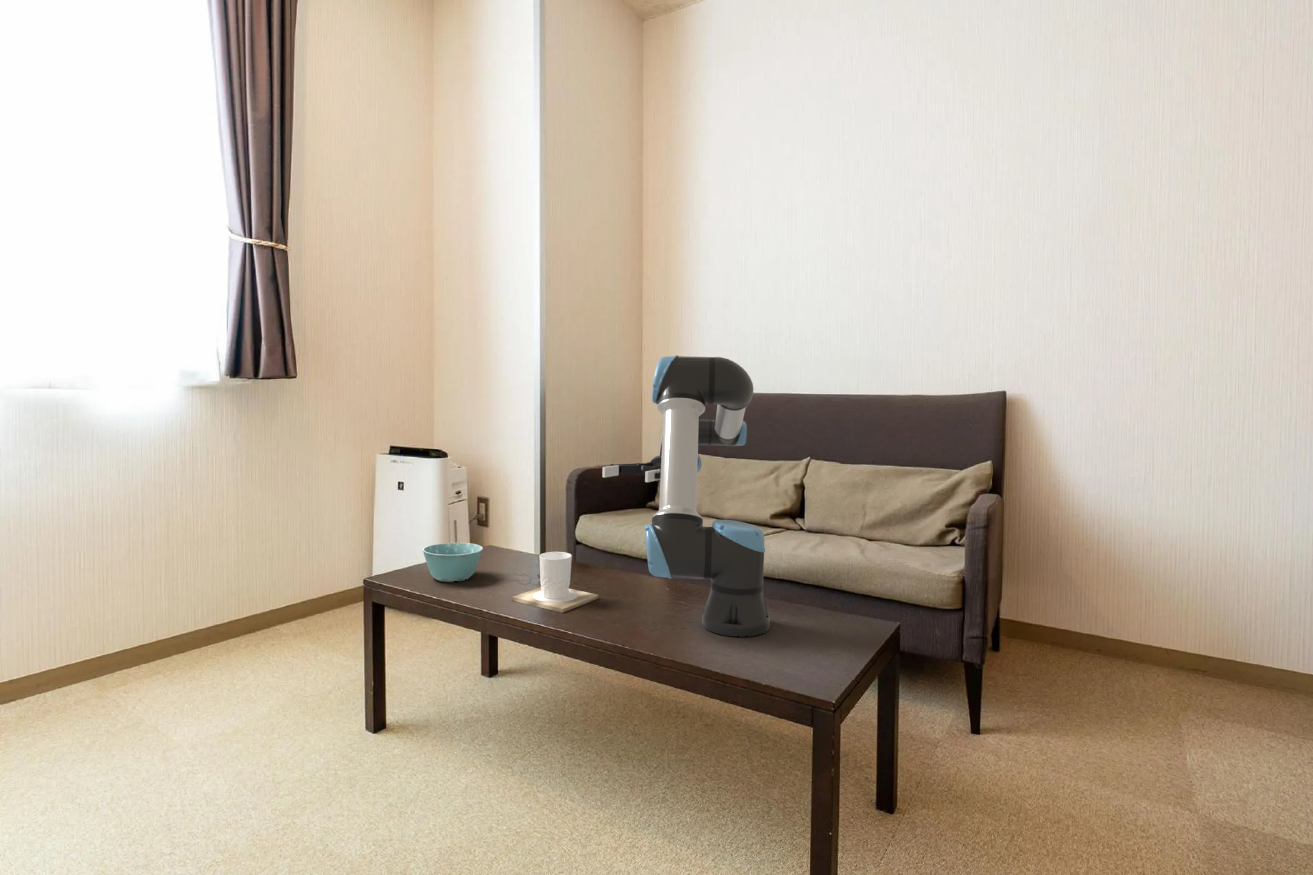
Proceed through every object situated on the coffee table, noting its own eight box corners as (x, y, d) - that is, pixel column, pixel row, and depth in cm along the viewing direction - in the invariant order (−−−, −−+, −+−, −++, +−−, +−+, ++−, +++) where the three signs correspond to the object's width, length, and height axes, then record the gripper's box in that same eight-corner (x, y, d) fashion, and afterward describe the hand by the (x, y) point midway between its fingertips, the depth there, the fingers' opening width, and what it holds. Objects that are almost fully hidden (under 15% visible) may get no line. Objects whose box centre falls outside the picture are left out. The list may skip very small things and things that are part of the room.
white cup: (574, 591, 180) (574, 552, 179) (566, 600, 172) (567, 560, 171) (543, 589, 181) (544, 550, 180) (535, 598, 173) (535, 558, 172)
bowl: (450, 567, 204) (450, 539, 203) (494, 575, 197) (494, 545, 196) (409, 580, 190) (409, 550, 189) (455, 589, 183) (455, 557, 182)
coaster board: (598, 598, 178) (598, 594, 178) (562, 612, 166) (562, 608, 166) (549, 587, 186) (549, 583, 186) (511, 600, 174) (511, 596, 174)
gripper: (704, 484, 198) (664, 493, 180) (630, 476, 211) (586, 484, 193) (705, 458, 197) (665, 464, 179) (630, 451, 211) (586, 456, 193)
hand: (624, 474), depth 186 cm, fingers open, 13 cm apart
